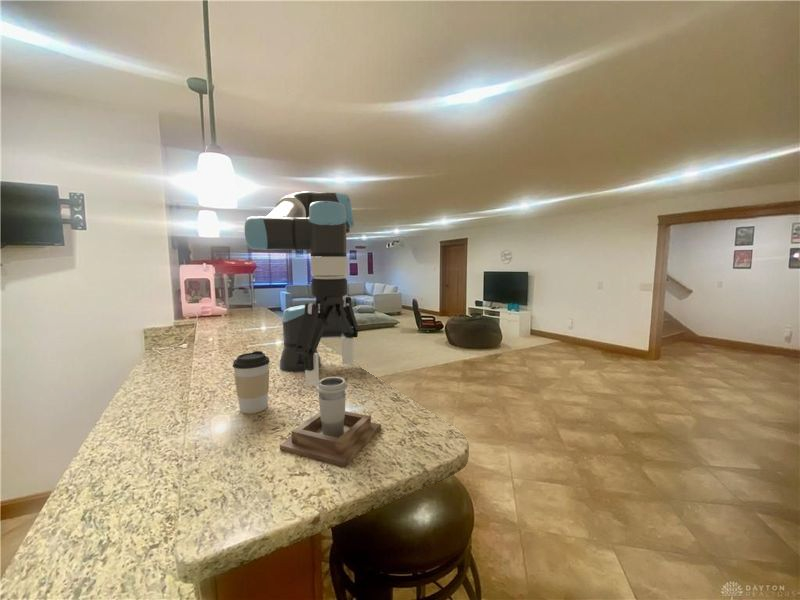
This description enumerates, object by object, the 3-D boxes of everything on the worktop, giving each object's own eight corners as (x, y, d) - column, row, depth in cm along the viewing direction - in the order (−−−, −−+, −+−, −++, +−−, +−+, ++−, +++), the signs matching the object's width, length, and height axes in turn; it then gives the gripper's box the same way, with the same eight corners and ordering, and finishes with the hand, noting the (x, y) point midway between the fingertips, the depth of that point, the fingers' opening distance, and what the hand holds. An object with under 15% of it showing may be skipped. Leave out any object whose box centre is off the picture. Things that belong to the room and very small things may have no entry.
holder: (324, 416, 82) (324, 403, 82) (380, 428, 76) (380, 414, 76) (279, 449, 68) (279, 433, 67) (344, 467, 62) (344, 450, 61)
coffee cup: (258, 416, 82) (255, 360, 81) (227, 413, 84) (224, 358, 82) (278, 402, 91) (276, 350, 89) (250, 399, 93) (247, 349, 91)
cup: (316, 427, 74) (315, 377, 73) (345, 423, 76) (344, 374, 75) (319, 443, 67) (317, 389, 66) (350, 438, 70) (349, 385, 68)
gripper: (345, 274, 81) (347, 355, 84) (271, 280, 58) (277, 392, 61) (371, 275, 78) (372, 359, 81) (305, 281, 55) (309, 398, 58)
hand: (331, 373), depth 71 cm, fingers open, 13 cm apart
